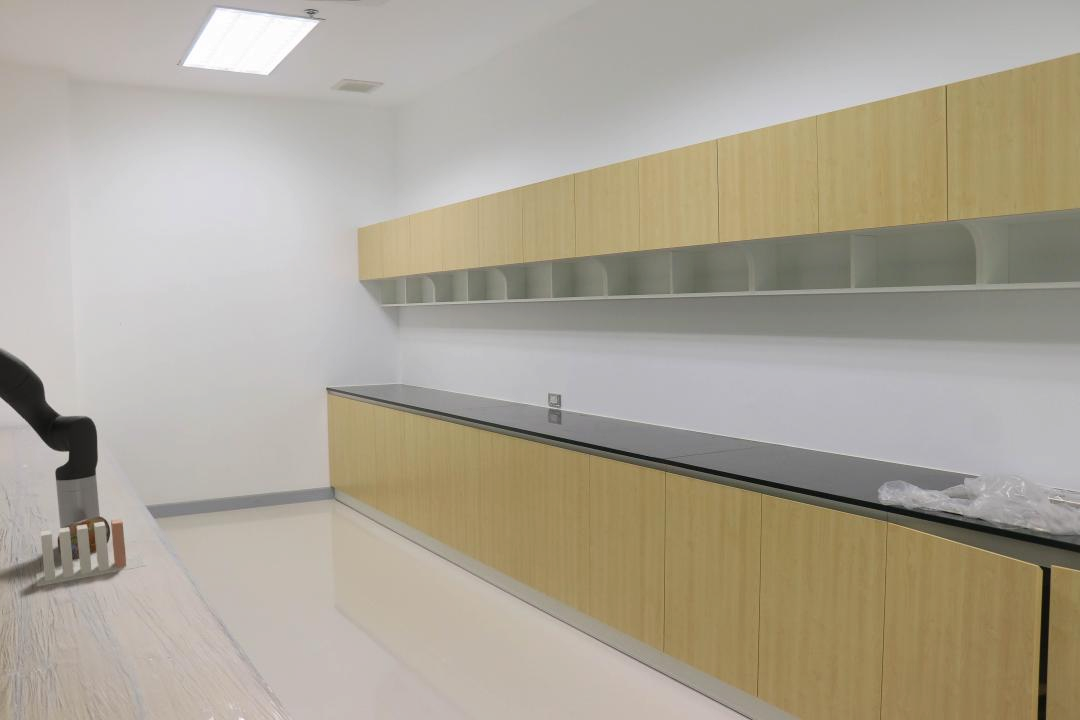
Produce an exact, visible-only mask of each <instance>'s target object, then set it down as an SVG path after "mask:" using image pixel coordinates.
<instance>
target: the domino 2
mask: <svg viewBox="0 0 1080 720" xmlns="http://www.w3.org/2000/svg"><path fill="white" fill-rule="evenodd" d="M58 536H59V538H60V549H61V554H60V559H61V569H62V571H63V577H69V576H74V571H73V567H74V564H73V563H74V562H73V560H74V559H73V558H72V549H71V538H70V530H69V527H67V528H58Z"/></svg>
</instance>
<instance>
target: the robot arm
mask: <svg viewBox="0 0 1080 720" xmlns="http://www.w3.org/2000/svg"><path fill="white" fill-rule="evenodd" d="M45 391H46V390H45V386H44V383H43V381H42V379H41V378H40V377H39V376H38V374H37V373H35V371H34V370H33V369H32V368H30V367H29V366H28V365H27V364H26V363H25V362H24V361H23V360H21V359H20V358H18V357H17V356H15V355H14V354H13V353H11V352H9V351H8V350H6V349H4V348H2V347H0V399H2V400H3V402H5V403H6V404H7V405H8V406H10V407H11V408H12V409H13V410H14V411H15V412H16V413H17V414H18V415H19V417H21V418H22V419H23V420H25V422H26V423H27V424H28V425H29V426H30V427H31V428H32V429H33V430H34V432H35V433H36V434H37V435H38V437H39V438H40V440H42V441H43V443H45V445H47V447H49V448H50V449H52V450H53V451H56V452H61V453H63V452H64V453H66V452H68V460H67V461H66V462H65V464H63V465H61V466H58V467H57V468H56V469H55V473H54V474H55V483H56V485H55V487H56V493H57V495H56V496H57V507H58V508H57V509H58V518H59V527H60V528H64V527H66V526H68V525H71V524H74V523H77V522H79V521H82V520H85V519H88V518H93V517H101V516H100V514H101V513H100V504H99V494H98V492H99V491H98V480H97V465H98V461H99V459H98V458H99V450H98V432H97V431H98V430H97V426H96V423H95V422H94V421H93V419H92V418H91V417H89V416H86V415H71V416H70V415H68V416H66V415H65V416H64V415H62V414H60V413H59V412H57V411H56V410H55V409H53V408H52V406H50V404H49V403H48V401H47V399H46V392H45ZM60 528H59V529H60Z"/></svg>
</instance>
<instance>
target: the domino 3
mask: <svg viewBox="0 0 1080 720" xmlns="http://www.w3.org/2000/svg"><path fill="white" fill-rule="evenodd" d="M76 527H77V538H78V549H79V557H78V558H79V566H80V570H81V574H85V573H90V572H92V570H91V564H92V559H91V552H90V547H89V536H88V527H87V525H86V524H85V525H79V526H76Z"/></svg>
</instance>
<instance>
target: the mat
mask: <svg viewBox="0 0 1080 720" xmlns="http://www.w3.org/2000/svg"><path fill="white" fill-rule="evenodd" d="M108 561H109V569H106V570H101V571H99V569H98V565H97V562H94V563H93V562H92V563H91V570H92V572H90V573H85V574H81V570H80V565H77V566H73V571H74V576H69V577H63V571H62V568H61V569H55V577H56V579H53V580H48V581H45V575H44V572H40V573H36V587H41V586H47V585H54V584H58V583H63V582H68V581H74V580H79V579H83V578H84V579H85V578H90V577H95V576H100V575H105V574H110V573H115V572H121V571H126V570H132V569H137V568H141V567H142V568H143V567H146V565H145V563H144V561H143V560H142V557H141V556H140V554H139V555H132V556H126V566H122V567H116V565H115V562H114V559H110V560H109V559H108Z"/></svg>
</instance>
